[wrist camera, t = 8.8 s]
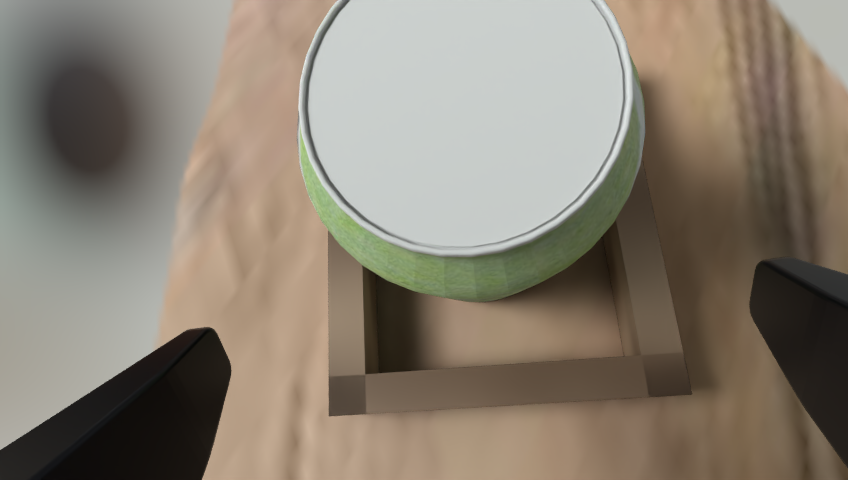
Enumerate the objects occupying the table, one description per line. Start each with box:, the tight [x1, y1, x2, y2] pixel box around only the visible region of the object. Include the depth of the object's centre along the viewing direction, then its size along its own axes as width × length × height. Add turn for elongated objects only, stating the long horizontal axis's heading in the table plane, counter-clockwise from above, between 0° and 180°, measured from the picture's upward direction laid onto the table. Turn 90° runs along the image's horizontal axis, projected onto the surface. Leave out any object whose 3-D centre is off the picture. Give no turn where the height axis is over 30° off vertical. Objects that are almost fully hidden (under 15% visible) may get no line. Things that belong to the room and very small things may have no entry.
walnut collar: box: [328, 158, 692, 416], centre depth 18 cm, size 12×11×2 cm
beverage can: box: [297, 0, 645, 302], centre depth 13 cm, size 6×7×12 cm
